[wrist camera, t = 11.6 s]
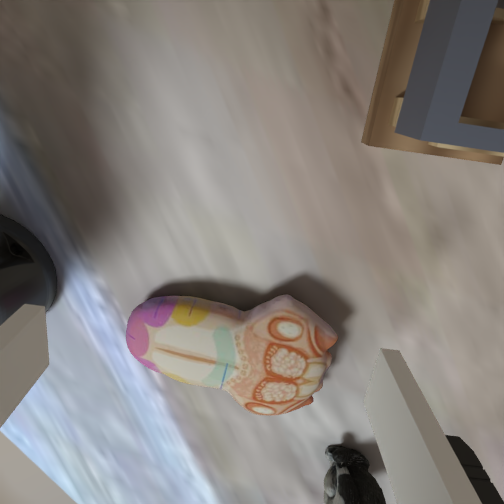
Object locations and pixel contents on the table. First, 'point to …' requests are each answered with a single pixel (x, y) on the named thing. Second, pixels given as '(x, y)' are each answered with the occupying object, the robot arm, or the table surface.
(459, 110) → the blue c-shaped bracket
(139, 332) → the sculpture
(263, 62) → the table surface
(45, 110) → the table surface
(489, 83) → the stand
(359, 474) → the figurine
